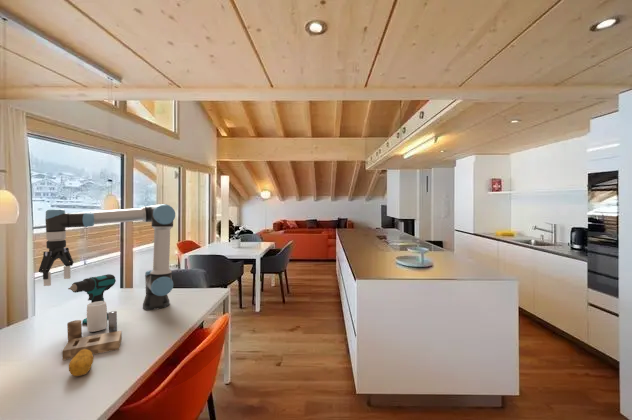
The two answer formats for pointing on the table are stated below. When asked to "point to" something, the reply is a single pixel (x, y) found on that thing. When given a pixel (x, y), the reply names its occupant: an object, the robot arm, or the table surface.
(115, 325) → the grey metal peg
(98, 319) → the cup
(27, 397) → the table surface
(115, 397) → the table surface
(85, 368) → the potato
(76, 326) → the walnut dowel
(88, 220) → the robot arm
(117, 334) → the socket block
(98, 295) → the power drill
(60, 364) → the table surface
